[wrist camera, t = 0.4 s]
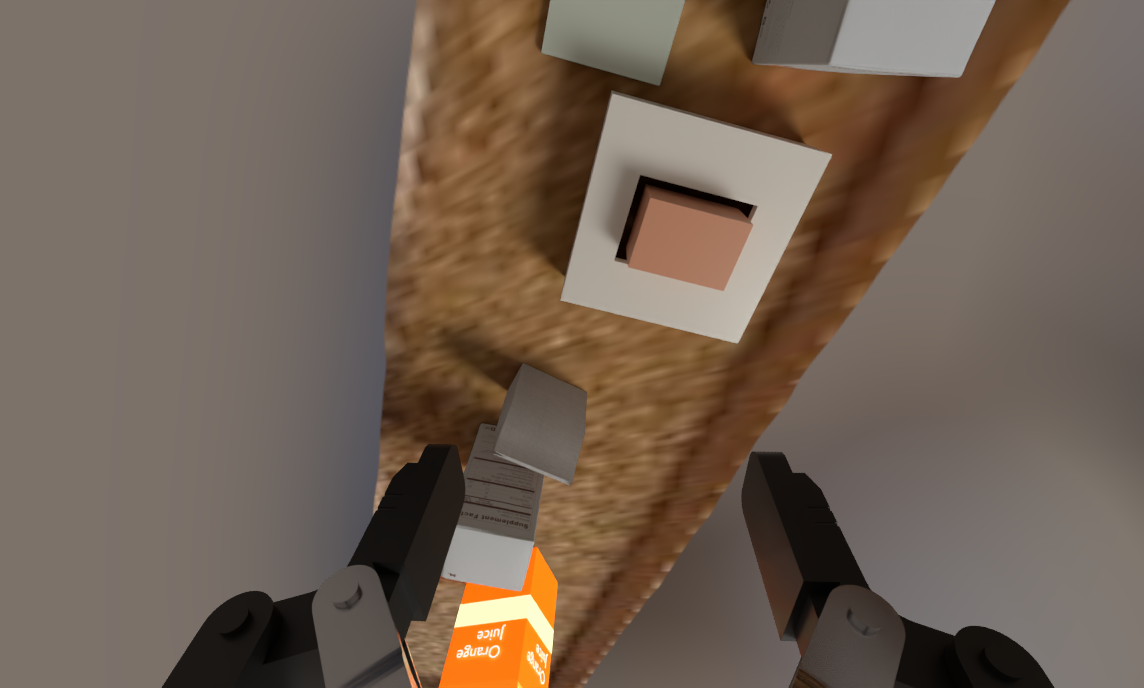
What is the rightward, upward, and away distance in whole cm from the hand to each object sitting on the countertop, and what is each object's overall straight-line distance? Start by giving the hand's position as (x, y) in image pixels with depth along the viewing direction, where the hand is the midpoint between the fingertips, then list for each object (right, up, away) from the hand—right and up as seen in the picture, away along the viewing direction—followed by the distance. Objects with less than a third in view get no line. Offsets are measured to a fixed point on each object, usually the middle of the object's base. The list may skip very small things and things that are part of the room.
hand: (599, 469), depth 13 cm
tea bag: (-3, -1, +32) cm, 32 cm away
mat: (+2, +25, +16) cm, 30 cm away
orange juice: (-8, -26, +47) cm, 54 cm away
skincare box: (+14, +23, +16) cm, 32 cm away
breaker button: (+7, +12, +20) cm, 24 cm away
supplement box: (-7, -8, +37) cm, 38 cm away
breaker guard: (+7, +13, +23) cm, 27 cm away
